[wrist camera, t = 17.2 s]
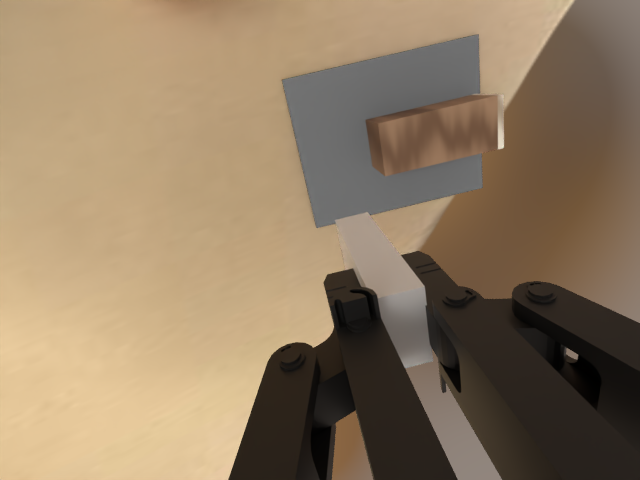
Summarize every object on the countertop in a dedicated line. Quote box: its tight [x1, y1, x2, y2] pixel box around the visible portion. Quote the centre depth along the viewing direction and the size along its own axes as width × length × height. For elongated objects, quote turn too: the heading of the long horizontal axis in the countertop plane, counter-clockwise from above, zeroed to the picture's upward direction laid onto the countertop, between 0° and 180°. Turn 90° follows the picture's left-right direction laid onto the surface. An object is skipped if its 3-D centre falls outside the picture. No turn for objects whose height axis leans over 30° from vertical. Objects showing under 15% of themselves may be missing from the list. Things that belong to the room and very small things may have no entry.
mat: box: [282, 34, 483, 228], centre depth 38 cm, size 16×20×1 cm
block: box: [365, 94, 504, 176], centre depth 36 cm, size 5×5×12 cm
